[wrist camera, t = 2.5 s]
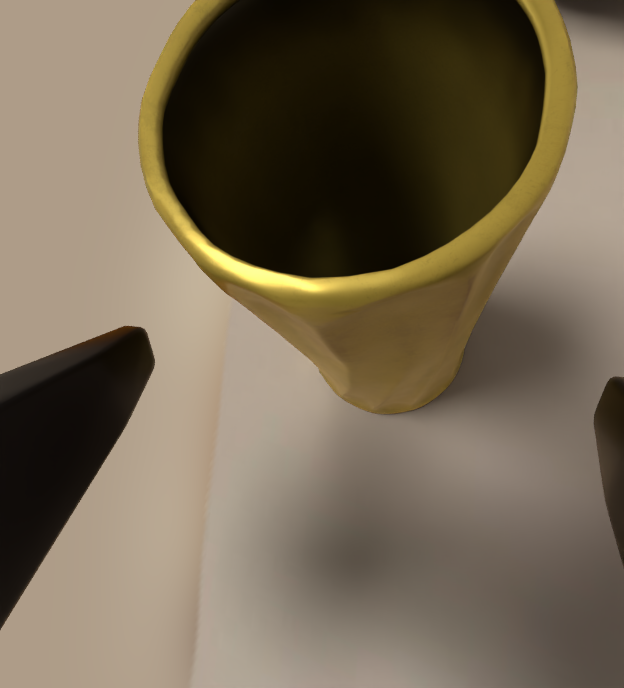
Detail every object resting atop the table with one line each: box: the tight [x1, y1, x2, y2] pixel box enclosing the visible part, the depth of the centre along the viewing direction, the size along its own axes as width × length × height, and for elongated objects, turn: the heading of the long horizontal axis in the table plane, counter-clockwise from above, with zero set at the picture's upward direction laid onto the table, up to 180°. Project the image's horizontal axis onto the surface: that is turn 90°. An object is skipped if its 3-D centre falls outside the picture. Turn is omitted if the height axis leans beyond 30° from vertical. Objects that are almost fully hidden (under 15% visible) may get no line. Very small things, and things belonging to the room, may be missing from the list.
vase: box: [138, 0, 577, 414], centre depth 12 cm, size 6×6×14 cm
